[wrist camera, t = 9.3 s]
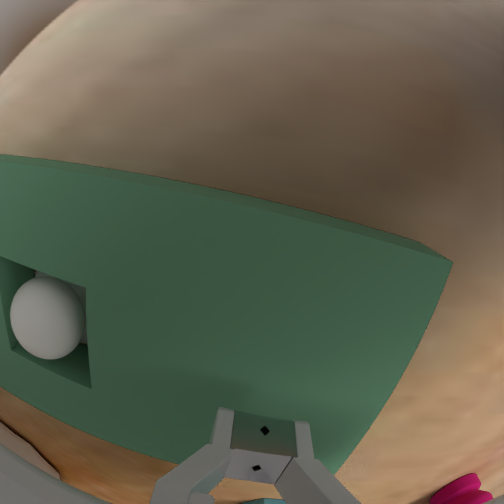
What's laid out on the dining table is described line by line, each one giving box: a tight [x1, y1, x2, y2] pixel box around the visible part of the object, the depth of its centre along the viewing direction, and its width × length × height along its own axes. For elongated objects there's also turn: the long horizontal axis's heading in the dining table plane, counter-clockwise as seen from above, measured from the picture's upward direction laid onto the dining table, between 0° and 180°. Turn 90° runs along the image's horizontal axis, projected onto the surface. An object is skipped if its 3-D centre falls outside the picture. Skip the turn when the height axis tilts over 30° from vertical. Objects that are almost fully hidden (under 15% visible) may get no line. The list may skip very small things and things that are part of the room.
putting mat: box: [0, 154, 453, 475], centre depth 13 cm, size 14×24×3 cm, turn 77°
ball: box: [10, 276, 85, 359], centre depth 12 cm, size 4×4×4 cm
